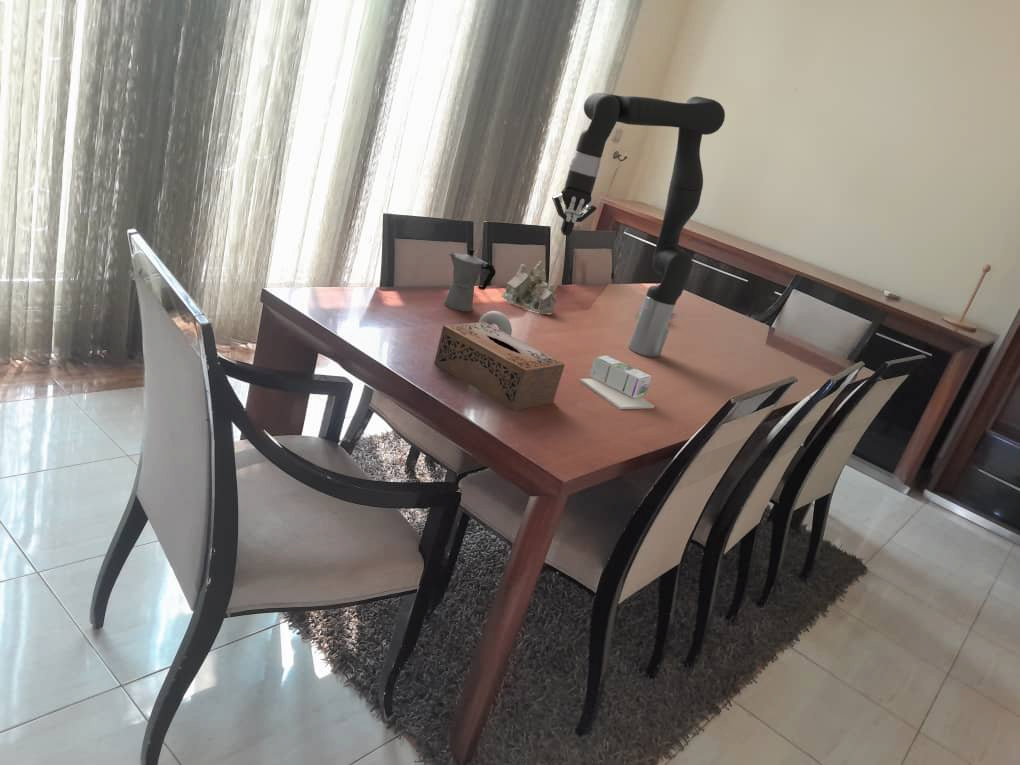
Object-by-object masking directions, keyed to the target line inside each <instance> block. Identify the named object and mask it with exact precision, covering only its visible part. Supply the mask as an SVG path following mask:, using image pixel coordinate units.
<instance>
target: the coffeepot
mask: <svg viewBox="0 0 1020 765" xmlns="http://www.w3.org/2000/svg"><path fill="white" fill-rule="evenodd" d="M468 251H469V252H468V254H463V253H456V252H454V253H453V252H452V253H451V252H450V253H448V255H449V256H450V258H451V261H452V265H453V272H452V273H453V274H452V278H453V279H452V283H451V285H450V287H449V290H448V291H447V292H448V293H447V294H446V297H445V300H444V303H443V304H444V305H445V307H447V306H448V308H449V307H450V309H452V310H455V311H458V310H460V311H459V312H464V311H469V312H472V311H473V304H474V294H475V293H474V292H475V286H476V284H477V281H478V279H479V277H480V275H481V272H482V270H488V271H489V273H488V274H487V277H486V279H485V280H484V281H483V284H482V285H478V287H477V288H478V290H482V291H485V290H486V289H487V287H488V286H489V284H491V282H492V280H493V278H494V277H495V275H496V273H497V272H496V269H495V266H494V264H492V263H489V262H486V261H484V260H482V259H481V258H478V257H477V256H474V253H475V249H473V248H469V250H468Z"/></svg>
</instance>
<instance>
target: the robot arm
mask: <svg viewBox="0 0 1020 765" xmlns="http://www.w3.org/2000/svg"><path fill="white" fill-rule="evenodd" d="M583 111H584V114H585V115H586V116H585V117H587V118H588V119H589V120H591V122H590V123H589V125H588V128H587V129H584V130H583V131H582V132H581V133H580V135H579V138H578V142H577V145H576V149H575V152H574V154H573V157H572V160H571V163H570V164H569V169H568V170H569V171H568V173H567V177H566V181H565V184H564V188H563V189H562V190H561V191H560V192H561V193H560V194H557V195H553V196H552V197H551V199H552V202H553V204H554V208H555V210H556V212H557V215H558V216H559V217H560V218H561V219H562V224H561V228H560V231H561V234H562V235H563V236H567V237H568V236H570V235H571V234H572V232H573V231H574V230H573V229H574V227H575V223H582V222H583V221H584V220H585V219H587V218H588V217H589V216H590V215H592V213H594V212H595V211H596V210H597V206H595V205H594V204H593V202H592V194H593V190H594V187H595V184H596V181H597V176H598V173H599V169H600V166H601V160H602V157H603V153H604V150H605V146H606V142H607V141H608V138H609V137H610V135H611V133H612V132H613V130H614V128H615V127H616V125H617V123H620V124H624V125H631V126H644V127H645V126H647V127H648V126H650V127H669V128H678V131H677V132H678V133H677V136H678V137H677V145H676V151H675V157H674V162H673V170H672V173H671V174H672V175H671V178H670V182H669V188H668V193H667V199H666V206H665V210H664V214H663V219H662V224H661V228H660V232H659V235H658V239H657V242H656V245H655V248H654V252H653V255H652V256H653V257H652V267H653V271H655V273H657V274H658V275H660V276H661V277H662V280H661V282H660V284H658V285H652V286H649V287H648V289H647V291H646V295H645V298H644V300H643V304H642V305H641V307H642V309H641V312H640V315H639V318H638V319H637V321H636V323H635V324H636V325H635V328H634V330H633V333H632V337H631V339H630V341H629V342H630V343H629V345H628V348H629V350H631V351H632V352H634V353H636V354H639V355H642V356H645V357H650V358H656V357H659V358H660V357H661V354H662V351H663V348H664V346H665V343H666V340H667V337H668V335H669V332H670V328H669V323H670V321H671V317H672V315H673V312H674V310H675V307H676V304H677V301H678V299H679V298H680V297H681V296H682V294H683V292H684V289H685V286H686V285H687V282H688V279H689V277H690V274H691V272H692V268H693V257H692V256H691V254H690V253H688V252H687V251H685V250H682V249H680V248H679V242H680V236H681V233H682V231H683V229H684V227H685V225H686V224H687V223H688V222H689V220H690V219H691V217H693V215H694V214H695V212H696V211H697V210H698V208H699V205H700V201H701V196H702V191H703V188H704V187H703V186H704V175H703V168H702V162H701V154H700V153H701V152H700V151H701V143H702V139H703V135H705V136H706V135H712V134H714V133H716V132H718V131H719V130H720V128H721V127H722V126H723V124H724V122H725V117H726V113H725V112H726V111H725V108H724V106H722V104H721V103H720V102H718V101H716V100H715V99H711V98H707V97H702V96H692V97H690V98H689V99H688V100H686V101H685V102H684V103H683V102H675V101H669V100H664V99H658V98H654V97H653V98H651V97H644V96H633V95H631V96H630V95H628V96H627V95H626V96H624V95H622V96H621V95H618V94H617V95H616V94H610V93H603V92H594V93H592V94H591V95H588V97H587V98H586V99H585V101H584V103H583ZM562 203H564V208H563V206H562ZM584 208H585V209H584ZM583 209H584V210H583ZM581 210H583V211H581Z"/></svg>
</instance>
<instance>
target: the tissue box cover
mask: <svg viewBox="0 0 1020 765" xmlns="http://www.w3.org/2000/svg"><path fill="white" fill-rule="evenodd" d="M439 338H440V339H439V342H438V346H437V351H436V354H435V359H434V365H436V366H438V367H439V368H441V369H443V370H444V371H446V372H447V371H448V373H449V374H451V375H453V376H454V377H456V378H457V379H459V380H461V381H463V382H464V383H465V384H468V385H470V386H471V387H472V388H474V389H475V390H478V391H479V392H481V393H483V394H484V395H485V396H488V397H489V398H491V399H493V400H494V401H497V402H498V403H500V404H501V405H503V406H505V407H506V408H508V409H509V410H511V411H512V412H517V411H520V410H525V409H529V408H533V407H537V406H543V405H547V404H551V403H554V401H555V398H556V394H557V391H558V388H559V384H560V381H561V378H562V375H563V372H564V368H565V365H566V364H565V363H564V362H562V361H560V360H558V359H556V358H555V357H553V356H550V355H548V354H547V353H545V352H542V351H541V350H539V349H537V348H535V347H533V346H531V345H529V344H527V343H525V342H524V341H522V340H520V339H518V338H516V337H514V336H512V335H511V336H510V335H509V334H507V333H505V332H503V331H501V330H499V328H498V327H494V326H493V325H489V324H487V323H486V322H479V321H478V322H470V323H468V322H467V323H456V324H455V323H454V324H444V325H443V326H442V330H441V334H440V337H439Z"/></svg>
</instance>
